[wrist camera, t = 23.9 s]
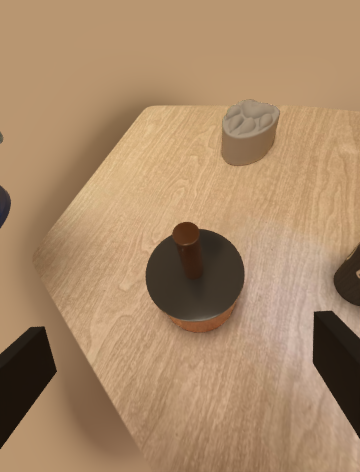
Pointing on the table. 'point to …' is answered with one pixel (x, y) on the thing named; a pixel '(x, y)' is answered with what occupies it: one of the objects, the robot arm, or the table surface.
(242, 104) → the lumpy-topped squat cylinder
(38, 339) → the robot arm
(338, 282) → the coffee cup
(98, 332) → the table surface
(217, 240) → the lid
